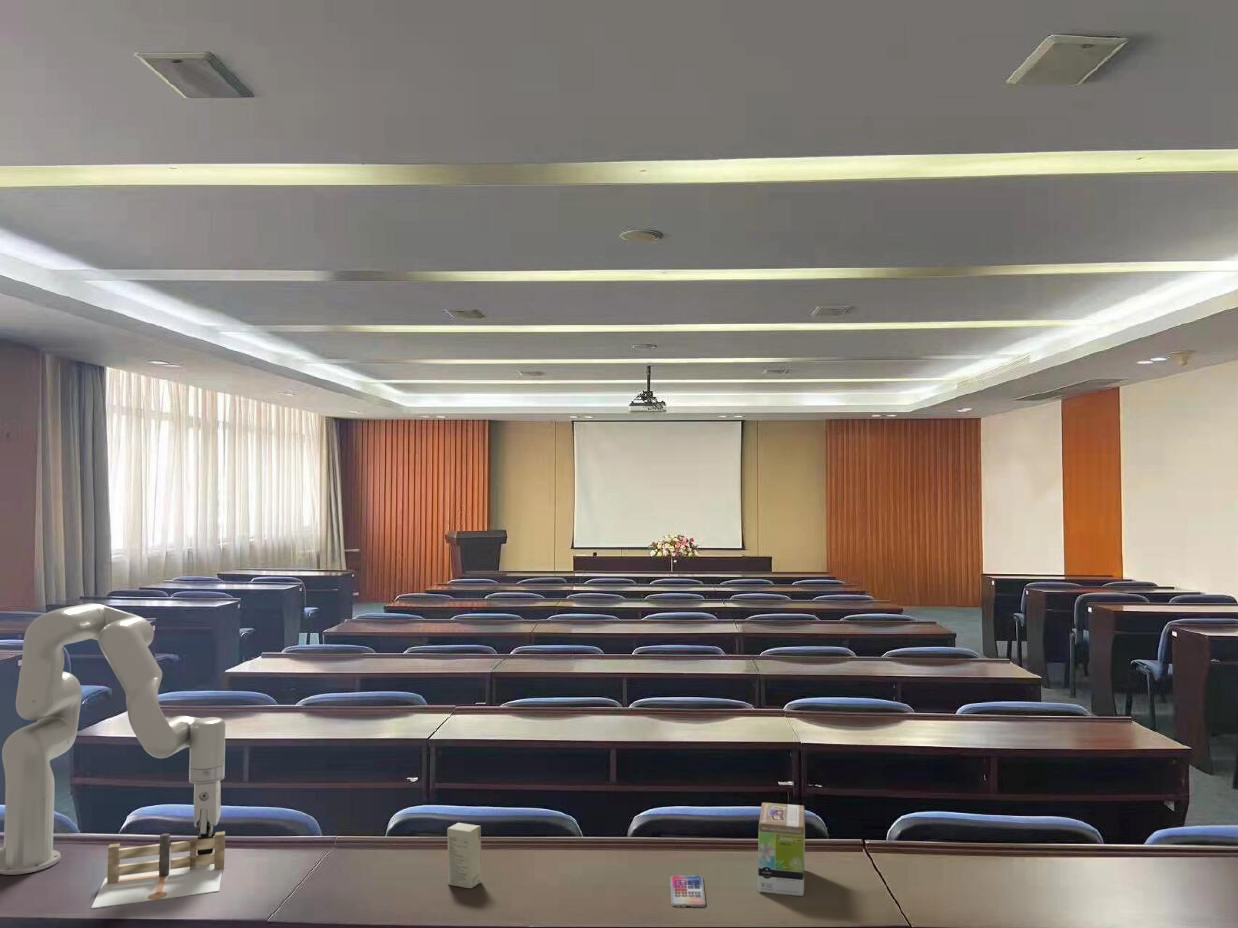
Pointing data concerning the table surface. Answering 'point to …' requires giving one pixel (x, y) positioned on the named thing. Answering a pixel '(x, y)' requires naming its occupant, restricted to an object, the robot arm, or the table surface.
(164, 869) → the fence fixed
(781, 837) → the tea box
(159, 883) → the card
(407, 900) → the table surface
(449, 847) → the skincare box
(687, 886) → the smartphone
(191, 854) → the fence gate
